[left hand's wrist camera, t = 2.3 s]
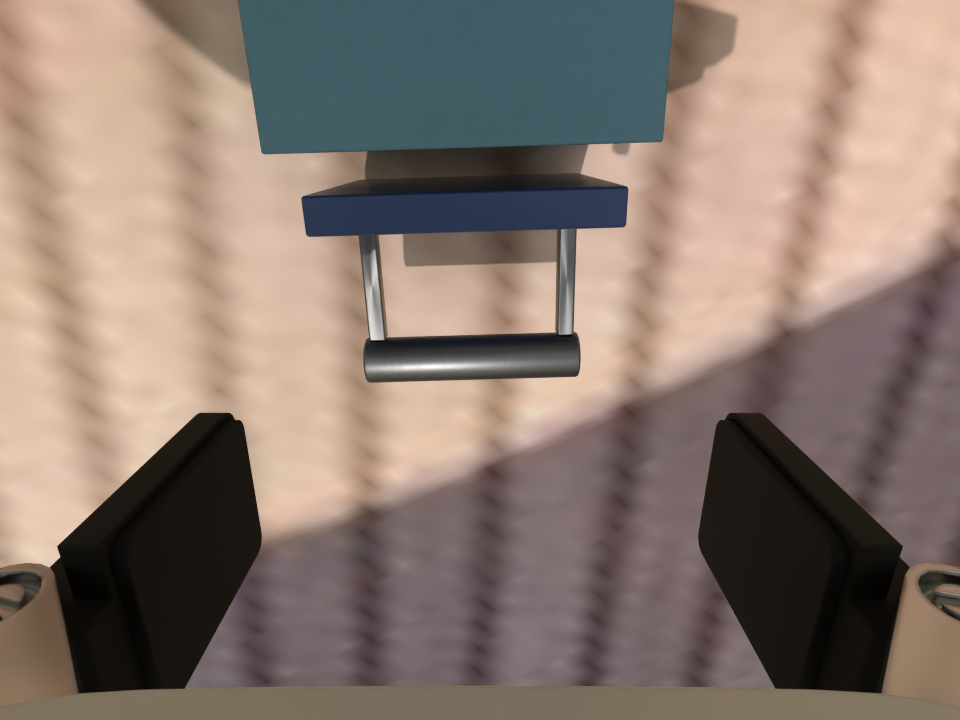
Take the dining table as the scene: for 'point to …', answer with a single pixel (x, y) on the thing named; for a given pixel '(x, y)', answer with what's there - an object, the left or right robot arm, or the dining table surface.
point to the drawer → (468, 210)
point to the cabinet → (456, 73)
